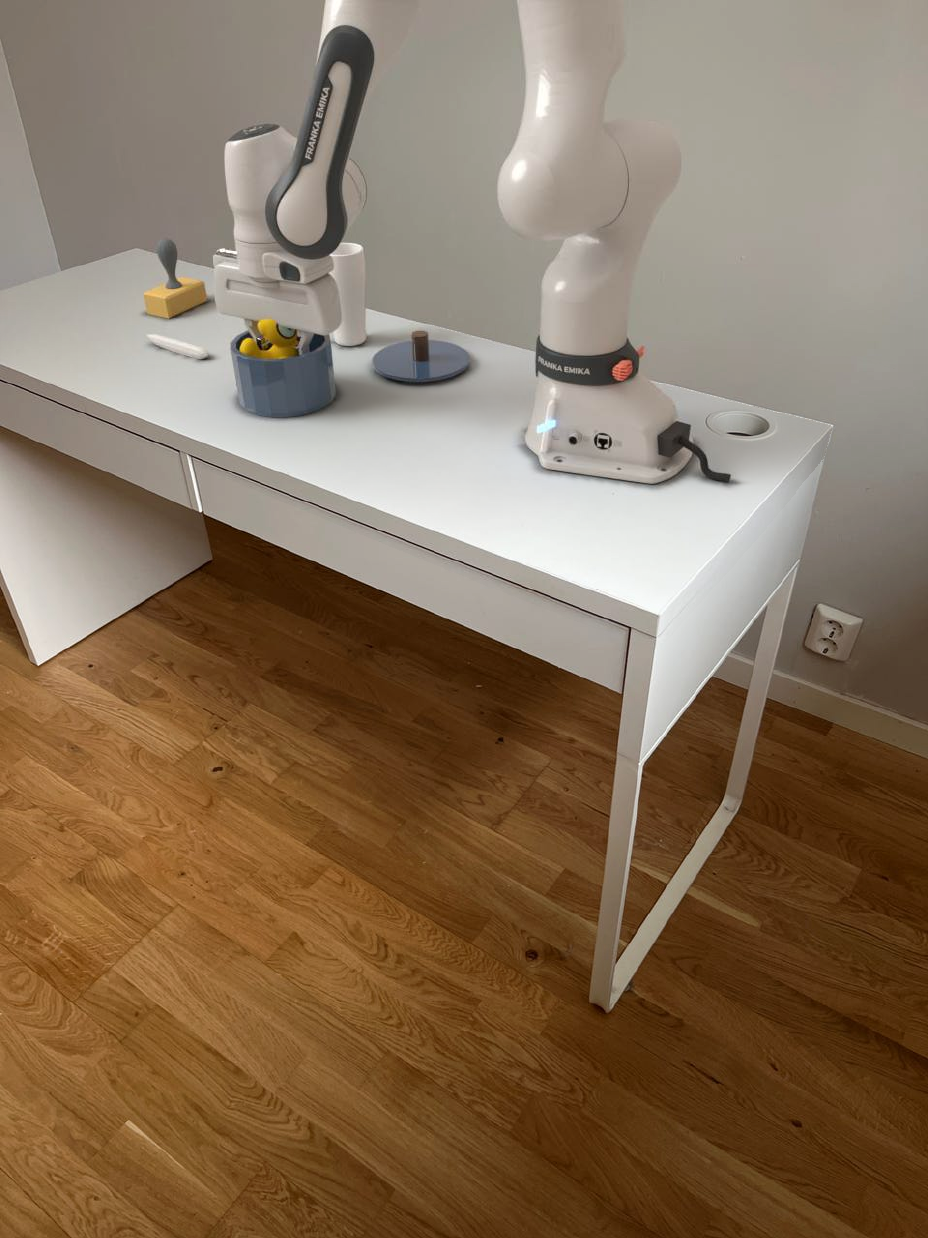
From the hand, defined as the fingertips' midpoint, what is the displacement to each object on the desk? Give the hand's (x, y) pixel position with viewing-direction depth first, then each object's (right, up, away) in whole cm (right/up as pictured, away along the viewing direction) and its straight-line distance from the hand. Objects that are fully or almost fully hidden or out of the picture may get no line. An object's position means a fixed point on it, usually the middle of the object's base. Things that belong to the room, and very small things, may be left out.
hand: (282, 352), depth 147 cm
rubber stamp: (-25, +17, +35) cm, 47 cm away
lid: (+20, +2, +12) cm, 23 cm away
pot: (0, -5, +4) cm, 7 cm away
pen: (-21, +5, +19) cm, 28 cm away
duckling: (-1, -3, +2) cm, 4 cm away
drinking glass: (+7, +7, +21) cm, 23 cm away
